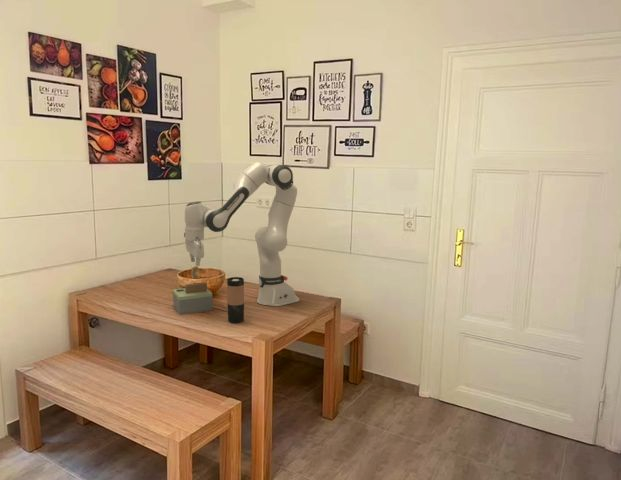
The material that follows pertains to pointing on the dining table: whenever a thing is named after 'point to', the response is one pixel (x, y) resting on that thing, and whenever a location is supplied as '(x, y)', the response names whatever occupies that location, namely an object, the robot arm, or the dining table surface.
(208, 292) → the lid
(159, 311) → the dining table surface
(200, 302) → the grey open box
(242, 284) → the travel mug
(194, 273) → the wooden key
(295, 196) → the robot arm
